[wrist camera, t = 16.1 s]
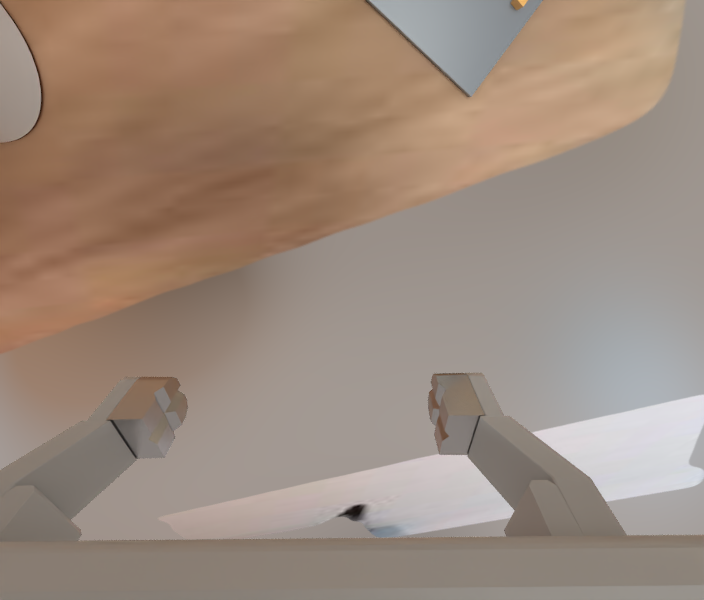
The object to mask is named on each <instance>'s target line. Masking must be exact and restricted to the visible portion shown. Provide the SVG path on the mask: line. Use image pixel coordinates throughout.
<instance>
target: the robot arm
mask: <svg viewBox="0 0 704 600" xmlns="http://www.w3.org/2000/svg"><path fill="white" fill-rule="evenodd" d="M40 107H41V88H40V82H39V77H38V73H37V69H36V66H35V63H34V60H33V58H32V55H31V53H30V51H29V49H28V46H27V44H26V42H25V41H24V39H23V37H22V35H21V33H20V32H19V30H18V28H17V27H16V25H15V23H14V22H13V21H12V19H11V18H10V16H9V15H8V13H7V12H6V11H5V9H4V8H3V7H2V5H1V4H0V143H1V142H10V141H14V140H17V139H19V138H21V137H23V136H24V135H26V134H27V133H28V132H29V131H30V130H31V129H32V128H33V126H34V125H35V123H36V121H37V119H38V116H39V112H40ZM431 384H432V388H433V389H432V390H431V391H430V392H429V397H428V409H429V415H430V420H431V422H432V423H433V424H434V425H435V426H436V428H435V433H434V436H435V440H436V443H437V447H438V451H439V455H468V456H467V457H468V458H469V459H470V460H471V461H472V462H473V463H474V465H475V466H476V467H477V468H478V469H479V470H480V471H481V473H482V474H483V475H484V476H485V477H486V478H487V479H488V481H489V482H490V483H491V484H492V485H493V486H494V487H495V489H496V490H497V491H498V492H499V493H500V494H501V495H502V497H503V498H504V499H505V500H506V501H507V502H508V503H509V505H510V506H511V507H512V508H513V509H514V510H515V511H514V513H513V515H512V517H511V518H510V520H509V522H508V524H507V526H506V528H505V530H504V531H505V534H506V537H415V538H414V537H411V538H410V537H407V538H306V539H305V538H303V539H197V540H104V541H103V540H102V541H101V540H98V541H78V540H79V538H80V537H81V535H82V534H81V529H80V528H79V527H77V526H76V525H75V524H74V523H73V522H72V521H71V519H72V518H73V517H75V516H76V515H77V514H78V513H79V512H80V511H81V510H82V509H83V508H84V507H86V506H87V505H88V504H89V503H90V502H91V501H92V500H93V499H94V498H95V497H97V495H99V494H100V493H101V492H102V491H103V490H104V489H105V488H106V487H107V486H109V485H110V484H111V483H112V482H113V481H114V480H115V479H116V478H117V477H119V476H120V475H121V474H122V473H123V472H124V471H125V470H126V469H127V468H128V467H129V466H131V465H132V464H133V463H134V462H135V461H136V459H140V458H164V457H165V455H166V454H167V452H168V450H169V448H170V446H171V445H172V443H173V441H174V439H175V434H174V430H176V429H177V428H178V427H179V426H181V425H182V423H183V421H184V419H185V417H186V413H187V409H188V405H187V399H186V396H185V395H184V394H183V393H181V392H180V391H178V389H179V387H180V383H179V381H178V379H177V378H174V377H125V378H123V379H122V380H120V381H119V382H118V384H117V385H116V386H115V387H114V388H113V390H112V391H111V392H110V393H109V394H108V396H107V397H106V398H105V399H104V401H103V402H102V403H101V404H100V405H99V407H98V408H97V409H96V410H95V411H94V413H93V414H92V415H91V416H90V417H89V419H88V420H87V421H80V422H79V423H77V424H75V425H74V426H72V427H70V428H69V429H67V430H66V431H64V432H62V433H61V434H59V435H57V436H56V437H54V438H52V439H51V440H49V441H47V442H46V443H44V444H42V445H41V446H39V447H38V448H36V449H34V450H33V451H31V452H29V453H28V454H26V455H24V456H23V457H21V458H19V459H18V460H16V461H14V462H13V463H11V464H9V465H8V466H6V467H4V468H3V469H1V470H0V600H704V535H626V533H625V531H624V530H623V528H622V527H621V525H620V524H619V522H618V520H617V519H616V517H615V516H614V514H613V513H612V511H611V510H610V508H609V506H608V505H607V503H606V502H605V500H604V498H603V497H602V495H601V494H600V492H599V490H598V489H597V487H596V486H595V484H594V483H593V481H592V479H591V478H590V477H588V476H587V475H586V474H584V473H583V472H582V471H581V470H579V469H578V468H577V467H575V466H574V465H573V464H571V463H570V462H569V461H567V460H566V459H565V458H564V457H562V456H561V455H560V454H558V453H557V452H556V451H554V450H553V449H552V448H551V447H549V446H548V445H547V444H545V443H544V442H543V441H541V440H540V439H539V438H537V437H536V436H535V435H534V434H532V433H531V432H530V431H528V430H527V429H526V428H524V427H523V426H522V425H520V424H519V423H518V422H517V421H515V420H514V419H513V418H511V417H510V416H504V414H503V412H502V410H501V408H500V406H499V404H498V402H497V400H496V398H495V396H494V394H493V392H492V390H491V388H490V386H489V384H488V382H487V380H486V378H485V376H484V375H483V374H482V373H442V374H441V373H440V374H433V375H432V379H431Z"/></svg>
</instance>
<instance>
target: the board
mask: <svg viewBox="0 0 704 600" xmlns="http://www.w3.org/2000/svg"><path fill="white" fill-rule="evenodd" d="M366 1H367V2H368V3H369V4H370V5H371V6H373V7H374V8H375V9H376V10H377V11H378V12H379V13H380V14H381V15H382V16H383V17H384V18H385V19H386V20H387V21H388V22H390V23H391V24H392V25H393V26H394V27H395V28H396V29H397V30H398V31H399V32H400V33H401V34H402V35H403V36H404V37H406V38H407V39H408V40H409V41H410V42H411V43H412V44H413V45H414V46H415V47H416V48H417V49H418V50H419V51H420V52H421V53H423V54H424V55H425V56H426V57H427V58H428V59H429V60H430V61H431V62H432V63H433V64H434V65H435V66H436V67H437V68H438V69H440V70H441V71H442V72H443V73H444V74H445V75H446V76H447V77H448V78H449V79H450V80H451V81H452V82H453V83H454V84H456V85H457V86H458V87H459V88H460V89H461V90H462V91H463V92H464V93H465V94H466V95H467V96H468V97H471V96H472V95H473V94H474V92H475V91H476V90H477V88H478V87H479V86H480V84H481V83H482V82H483V80H484V79H485V78H486V76H487V75H488V74H489V72H490V71H491V69H492V68H493V67H494V65H495V64H496V63H497V61H498V60H499V59H500V57H501V56H502V55H503V53H504V52H505V51H506V49H507V48H508V47H509V45H510V44H511V43H512V41H513V40H514V38H515V37H516V36H517V34H518V33H519V32H520V30H521V29H522V28H523V26H524V25H525V24H526V22H527V21H528V20H529V18H530V17H531V16H532V14H533V13H534V12H535V10H536V9H537V7H538V6H539V5H540V3H541V2H542V1H543V0H366Z"/></svg>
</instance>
